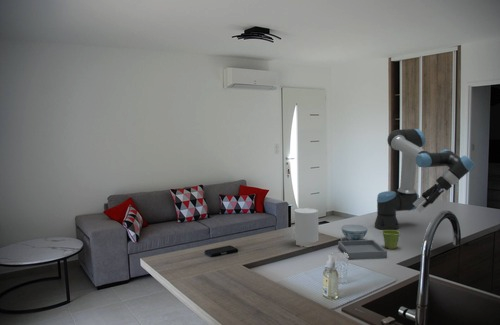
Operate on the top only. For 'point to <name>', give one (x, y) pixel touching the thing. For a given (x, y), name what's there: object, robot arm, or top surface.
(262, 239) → the top surface
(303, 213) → the canister
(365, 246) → the tray
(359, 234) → the chinaware
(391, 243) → the plant pot
